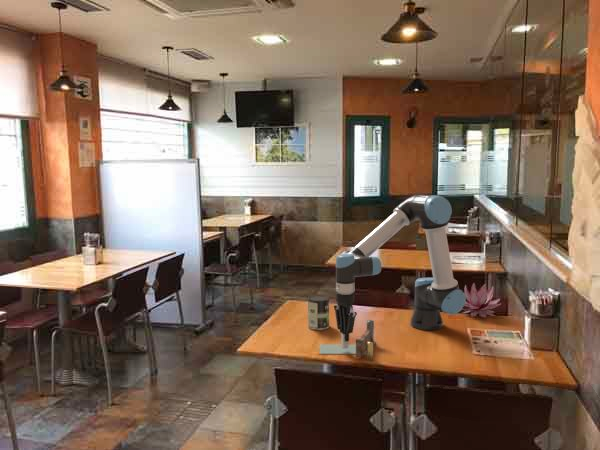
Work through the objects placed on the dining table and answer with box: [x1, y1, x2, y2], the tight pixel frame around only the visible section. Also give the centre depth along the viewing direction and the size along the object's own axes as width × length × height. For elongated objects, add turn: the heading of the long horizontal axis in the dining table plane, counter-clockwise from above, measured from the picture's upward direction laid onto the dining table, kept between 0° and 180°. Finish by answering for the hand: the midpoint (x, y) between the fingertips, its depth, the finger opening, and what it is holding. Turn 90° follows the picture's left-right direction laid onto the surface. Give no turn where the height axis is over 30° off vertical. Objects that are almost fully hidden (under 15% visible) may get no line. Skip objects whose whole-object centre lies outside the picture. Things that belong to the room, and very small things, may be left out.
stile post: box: [366, 341, 374, 362], centre depth 188 cm, size 2×2×7 cm
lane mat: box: [318, 343, 367, 355], centre depth 198 cm, size 20×10×1 cm, turn 88°
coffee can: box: [307, 294, 330, 331], centre depth 227 cm, size 10×10×14 cm
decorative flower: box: [461, 282, 501, 319], centre depth 242 cm, size 21×21×15 cm
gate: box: [355, 329, 371, 359], centre depth 195 cm, size 17×2×7 cm, turn 157°
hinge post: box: [366, 319, 377, 346], centre depth 204 cm, size 5×5×10 cm
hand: (344, 347), depth 196 cm, fingers closed
